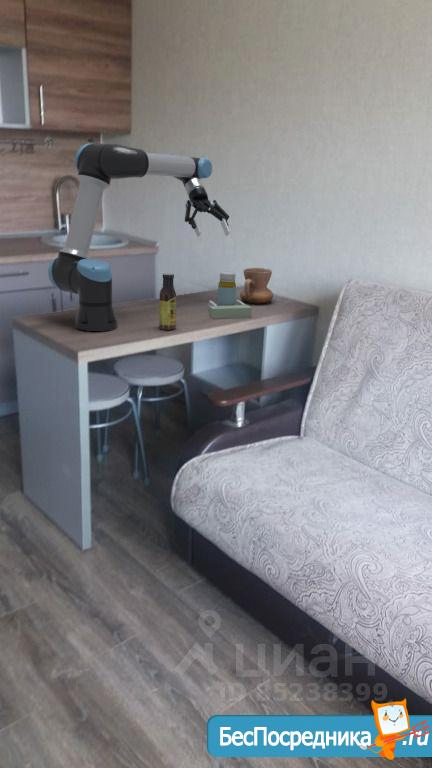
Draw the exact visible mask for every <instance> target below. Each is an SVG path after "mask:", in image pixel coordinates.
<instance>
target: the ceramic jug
mask: <svg viewBox="0 0 432 768" xmlns="http://www.w3.org/2000/svg"><path fill="white" fill-rule="evenodd" d="M272 274H273V270H272V269H271V268H265V267H248V268H245V269H243V276H244V279H245V281H244V286H243V287H244V289H243V290H241V291H240V293H239V297H240V298H241V299H242V301H244V302H247V303H249V304H254V303H256V304H261V303H262V304H266V303H269V302H271V301H272V300H273V298H274V293H273V291H272V290H270V289H269V288H268V287H267V286H268V284H269V282H270V280H271V277H272ZM262 304H261V305H262Z"/></svg>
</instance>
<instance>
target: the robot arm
mask: <svg viewBox="0 0 432 768" xmlns="http://www.w3.org/2000/svg"><path fill="white" fill-rule="evenodd" d="M74 166H76V168H75V169H76V171H77V178H78V181H79V186H78V187H79V188H78V191H77V192H78V193H77V195H76V200H75V204H74V208H73V212H72V216H71V221H70V224H69V229H68V232H67V237H66V241H65V245H64V247H63V248H62V249H60V250H59V252H58V256H57V257H55V258H54V259H53V260H51V261H50V263H49V266H48V269H47V273H48V274H47V275H48V280H50V283H51V284H52V285H53V287H55V288H57V289H58V290H61V291H62V292H63V291H64V292H67V293H68V292H69V293H72V294H74V295H78V310H77V313H76V316H75V320H74V328H75V329H77V328H78V329H77V330H79V329H81V330H80V331H82V330H86V331H85V332H89V331H102V332H108V331H107V330H109V331H113V330H115V329H117V328H118V325H119V324H118V322H119V321H118V318H117V315H116V313H115V309H114V307H113V274H112V267H111V264H110V263H108V262H107V261H104V260H101V259H95V258H91V257H90V254H89V251H90V247H91V243H92V239H93V236H94V232H95V227H96V223H97V220H98V216H99V211H100V207H101V203H102V199H103V197H104V191H105V190H107V189H108V188H110V185H111V180H115V179H117V180H119V179H129V178H143V177H145V176H159V177H161V176H162V177H172V178H174V179H176V180H178V181H180V182H181V183H182V184H183V186H184V189H185V191H186V194H187V196H188V199H187V200H186V203H185V215H184V222H186V223H188V225H190V227H191V229H192V230H194V232H195V235H196V237H197V238H199V237H200V236H201V234H202V231H201V228H200V226H199V224H198V221H197V219H195V218H196V216H197V213H198V212H199V213H207V214H210V215H212V216H213V217H214V218H216V219H217V220H218V221H220V225H221V228H222V230H223V232H224V234H225V236H226V237H227V236H228V235H229V234H230V232H231V231H230V227H229V223H228V220H229V218H230V215H229V214H228V213H227V212H226V211H225V210H224V209H223V208H222V207H221V206H220V205H219V204H218V202H217V200H216V199H213V201H210V200H209V196H208V193H207V191H206V189H205V186H204V183H203V182H202V179H208V178H209V177H210V176H211V175H212V172H213V164H212V161H211V160H210V159H209V158H208V157H207V158H206V157H193V156H183V155H174V154H172V153H165V154H162V153H152V152H146V151H145V149H142V148H135V147H130V146H126V145H122V144H117V143H99V142H92V143H86V144H85V143H84V145H82V146H81V147H79V148H78V149H77V152H76V153H75V158H74ZM192 207H193V208H194V210H193V213H192V215H191V210H192Z"/></svg>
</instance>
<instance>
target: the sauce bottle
mask: <svg viewBox="0 0 432 768" xmlns="http://www.w3.org/2000/svg"><path fill="white" fill-rule="evenodd" d="M174 279H175V273H173V272H164V273H162V287H161V289H160V291H159V300H158V301H159V304H158V323H159V324H158V326H159V329H160V330H165V331H169V330H171V331H172V330H175V329H176V325H177V300H178V298H177V293H176V291H175V290H176V289H175V287H174V286H175V285H174Z"/></svg>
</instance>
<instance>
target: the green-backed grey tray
mask: <svg viewBox="0 0 432 768" xmlns="http://www.w3.org/2000/svg"><path fill="white" fill-rule="evenodd" d="M207 310H208V313H209V314H208V315H209V318H211V320H217V319H219V320H220V319H244V318H245V319H246V318H247V319H249V318H252V307H251V306H250V305H249V304H245V303H244V302H243V301H242V300H240V299H235V305H232V306H217V304H216V303H215V302H214V301H213V300H208V309H207Z"/></svg>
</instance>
